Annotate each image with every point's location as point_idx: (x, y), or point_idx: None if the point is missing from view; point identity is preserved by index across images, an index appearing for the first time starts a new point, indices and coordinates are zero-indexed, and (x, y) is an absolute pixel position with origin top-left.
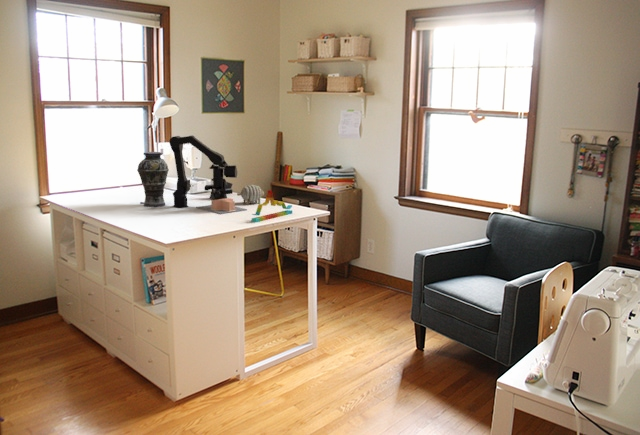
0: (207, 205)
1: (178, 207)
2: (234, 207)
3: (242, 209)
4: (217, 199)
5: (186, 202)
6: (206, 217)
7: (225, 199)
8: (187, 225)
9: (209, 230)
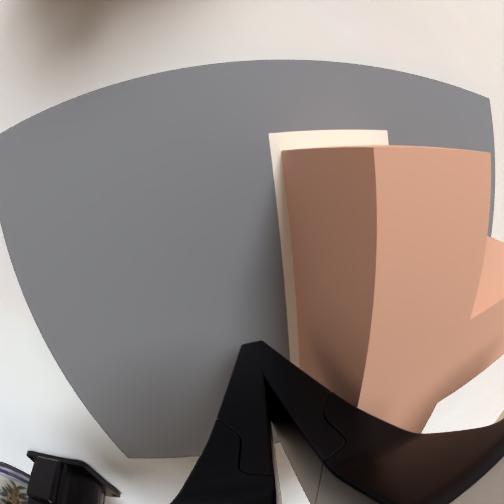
0: (68, 375)
1: (118, 495)
2: (497, 240)
3: (485, 138)
4: None
5: (64, 482)
6: (431, 428)
7: (451, 338)
8: None
9: (499, 407)
